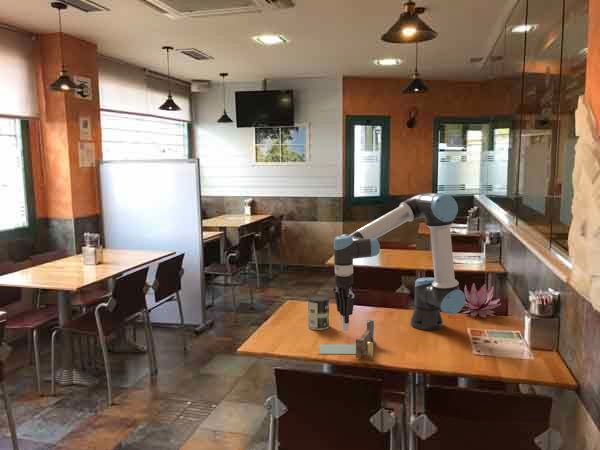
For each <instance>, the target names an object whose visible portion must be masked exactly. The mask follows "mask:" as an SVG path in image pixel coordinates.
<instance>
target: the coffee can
mask: <svg viewBox="0 0 600 450" xmlns="http://www.w3.org/2000/svg"><path fill="white" fill-rule="evenodd" d="M307 315H308V316H307V319H308V320H307V321H308V323H307V327H308V329H311V330H314V331H315V330H316V331H322V330H327V329H329V328H330V297H329V296H327V295H321V294H315V295H314V294H313V295H311V296H308V297H307Z"/></svg>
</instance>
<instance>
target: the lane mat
mask: <svg viewBox="0 0 600 450" xmlns="http://www.w3.org/2000/svg"><path fill="white" fill-rule="evenodd" d="M318 348H319V352H318V353H319V355H356V344H344V343H343V344H340V343H339V344H337V343H335V344H332V343H331V344H328V343H327V344H323V343H322V344H321V343H320V344H319V347H318ZM363 355H367V350H366V351H365V352H364V354H363Z"/></svg>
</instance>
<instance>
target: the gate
mask: <svg viewBox="0 0 600 450" xmlns="http://www.w3.org/2000/svg"><path fill="white" fill-rule="evenodd" d="M368 341H371V330H367V329H366V330H365V331H364V332H363V334H362V335H361V336H360V337H359V338H356V339H355V345H356V354H355V358H356V359H361V358H362V357H363V355H365V354H364V352H365V351H366V350H367V342H368Z"/></svg>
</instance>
